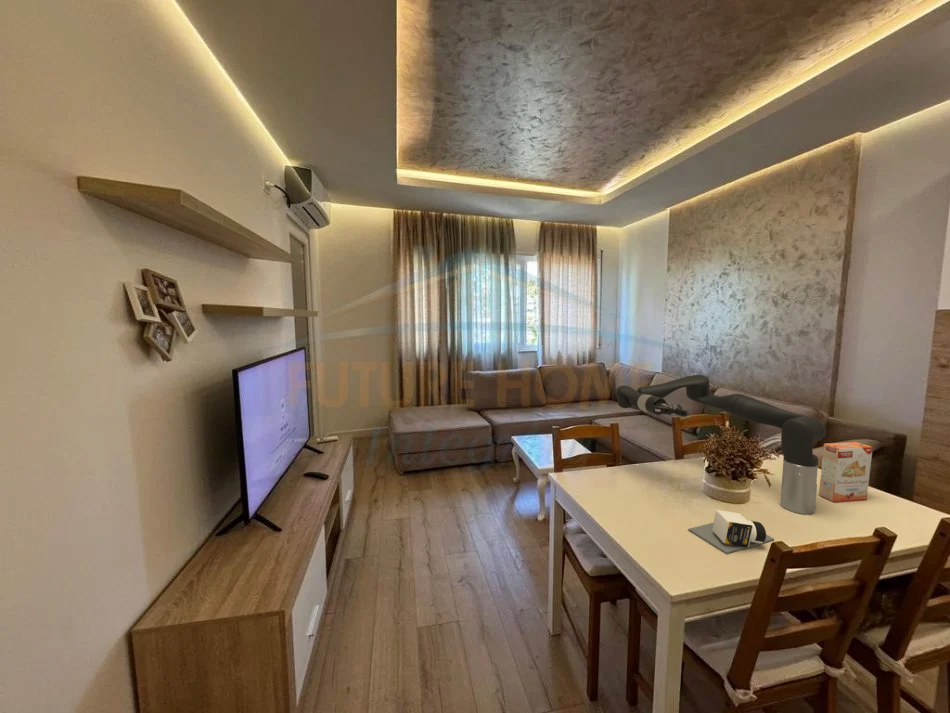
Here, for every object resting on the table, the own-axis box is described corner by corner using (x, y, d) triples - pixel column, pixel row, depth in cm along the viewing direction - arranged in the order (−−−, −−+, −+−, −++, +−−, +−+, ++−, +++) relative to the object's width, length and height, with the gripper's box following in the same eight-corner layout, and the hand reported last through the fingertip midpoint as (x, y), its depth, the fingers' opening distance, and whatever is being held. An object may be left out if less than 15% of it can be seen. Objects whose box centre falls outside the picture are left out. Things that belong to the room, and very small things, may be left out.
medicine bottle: (728, 521, 110) (771, 528, 108) (715, 509, 117) (756, 515, 115) (723, 543, 110) (766, 551, 109) (711, 530, 118) (752, 536, 116)
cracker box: (834, 503, 135) (839, 448, 133) (818, 495, 141) (822, 442, 139) (868, 500, 137) (873, 446, 135) (850, 493, 143) (855, 440, 141)
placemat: (733, 519, 126) (733, 517, 126) (774, 540, 114) (774, 538, 114) (688, 530, 120) (688, 528, 120) (726, 554, 108) (726, 552, 108)
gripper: (639, 396, 156) (672, 405, 140) (663, 394, 160) (699, 402, 144) (638, 414, 157) (672, 425, 141) (663, 411, 161) (698, 421, 145)
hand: (685, 413), depth 142 cm, fingers closed
